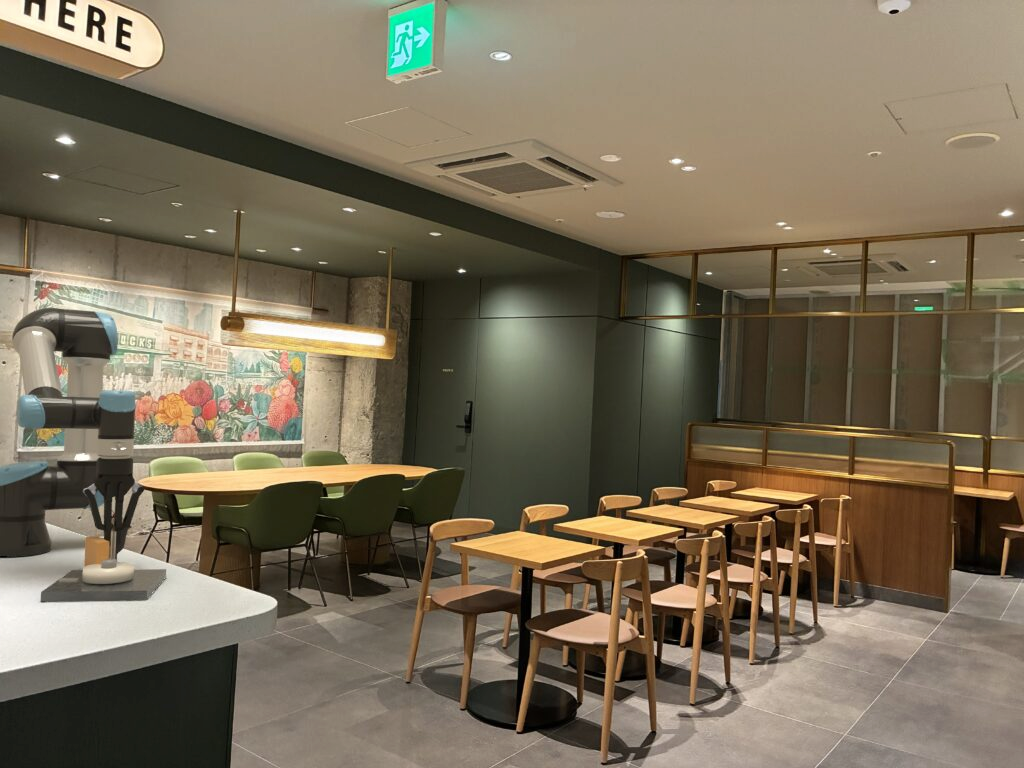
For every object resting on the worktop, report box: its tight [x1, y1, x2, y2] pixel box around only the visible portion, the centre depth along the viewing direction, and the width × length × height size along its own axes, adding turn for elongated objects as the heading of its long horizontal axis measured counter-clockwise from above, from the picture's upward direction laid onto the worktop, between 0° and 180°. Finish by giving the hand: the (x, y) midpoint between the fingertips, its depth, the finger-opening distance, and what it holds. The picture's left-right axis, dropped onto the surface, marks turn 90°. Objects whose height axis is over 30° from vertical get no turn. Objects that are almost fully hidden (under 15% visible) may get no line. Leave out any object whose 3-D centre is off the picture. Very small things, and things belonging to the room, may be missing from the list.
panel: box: [40, 568, 167, 603], centre depth 169 cm, size 20×20×2 cm
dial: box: [82, 535, 135, 584], centre depth 172 cm, size 17×10×7 cm, turn 46°
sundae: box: [111, 510, 132, 560], centre depth 189 cm, size 7×7×15 cm
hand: (111, 559), depth 178 cm, fingers closed
